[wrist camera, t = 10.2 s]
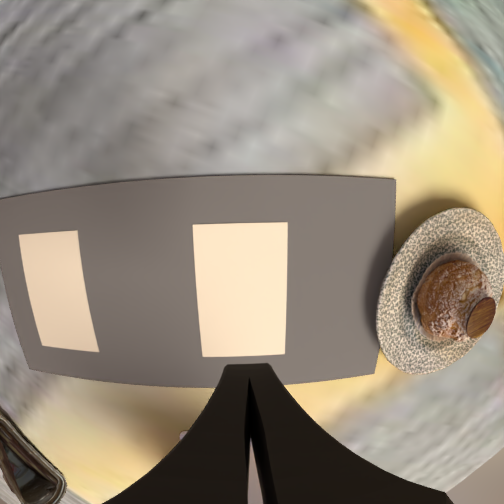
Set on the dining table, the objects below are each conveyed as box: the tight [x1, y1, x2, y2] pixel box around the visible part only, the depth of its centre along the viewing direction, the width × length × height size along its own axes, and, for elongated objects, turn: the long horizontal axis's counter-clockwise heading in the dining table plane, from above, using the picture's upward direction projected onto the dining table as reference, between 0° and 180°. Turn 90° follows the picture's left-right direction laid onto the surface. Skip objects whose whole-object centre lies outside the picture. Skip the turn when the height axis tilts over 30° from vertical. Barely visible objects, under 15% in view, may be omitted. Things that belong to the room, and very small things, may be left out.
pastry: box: [376, 208, 504, 375], centre depth 16 cm, size 12×12×5 cm
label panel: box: [0, 175, 396, 388], centre depth 17 cm, size 13×26×1 cm, turn 91°
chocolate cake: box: [0, 416, 67, 504], centre depth 18 cm, size 10×7×12 cm
